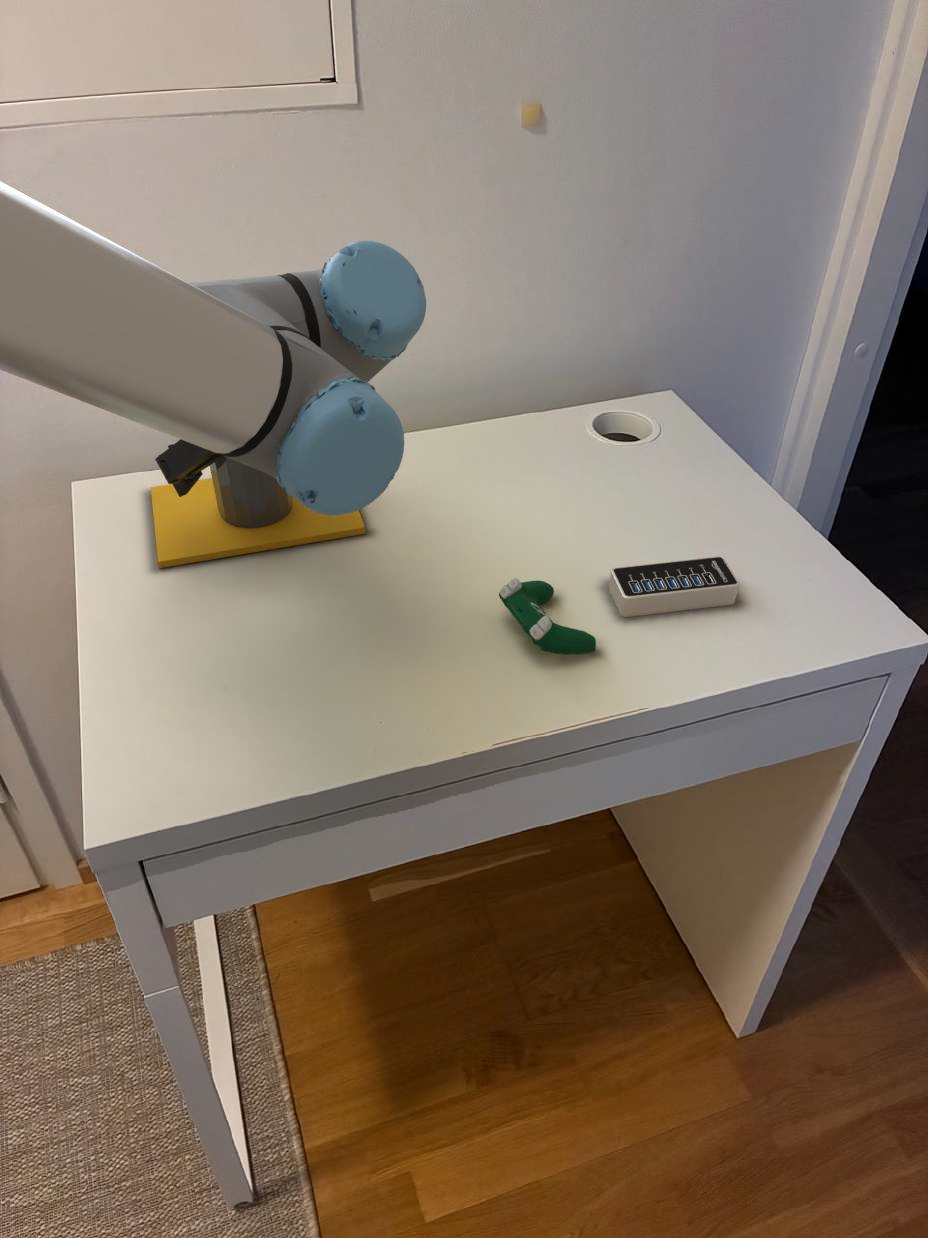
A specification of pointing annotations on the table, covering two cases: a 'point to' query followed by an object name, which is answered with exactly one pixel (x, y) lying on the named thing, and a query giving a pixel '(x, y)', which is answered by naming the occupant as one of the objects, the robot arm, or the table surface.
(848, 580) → the table surface
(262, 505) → the steel tumbler
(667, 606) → the multiport hub
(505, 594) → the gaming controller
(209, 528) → the mat
